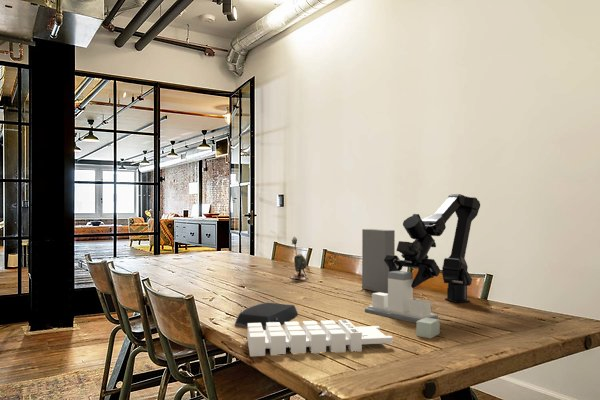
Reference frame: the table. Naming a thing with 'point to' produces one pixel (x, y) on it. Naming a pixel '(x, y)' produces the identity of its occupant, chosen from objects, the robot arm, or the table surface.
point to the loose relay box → (428, 327)
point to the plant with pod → (299, 264)
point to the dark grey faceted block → (266, 314)
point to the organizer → (311, 337)
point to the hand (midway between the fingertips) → (400, 285)
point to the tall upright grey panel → (376, 258)
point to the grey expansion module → (400, 290)
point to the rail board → (417, 312)
